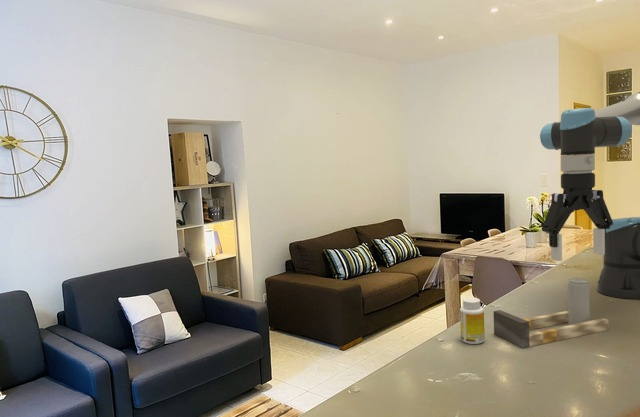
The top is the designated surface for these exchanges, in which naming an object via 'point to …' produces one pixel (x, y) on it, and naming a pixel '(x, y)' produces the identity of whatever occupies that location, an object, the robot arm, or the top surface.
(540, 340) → the guide channel
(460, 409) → the top surface
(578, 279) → the beverage can
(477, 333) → the supplement bottle
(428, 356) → the top surface
